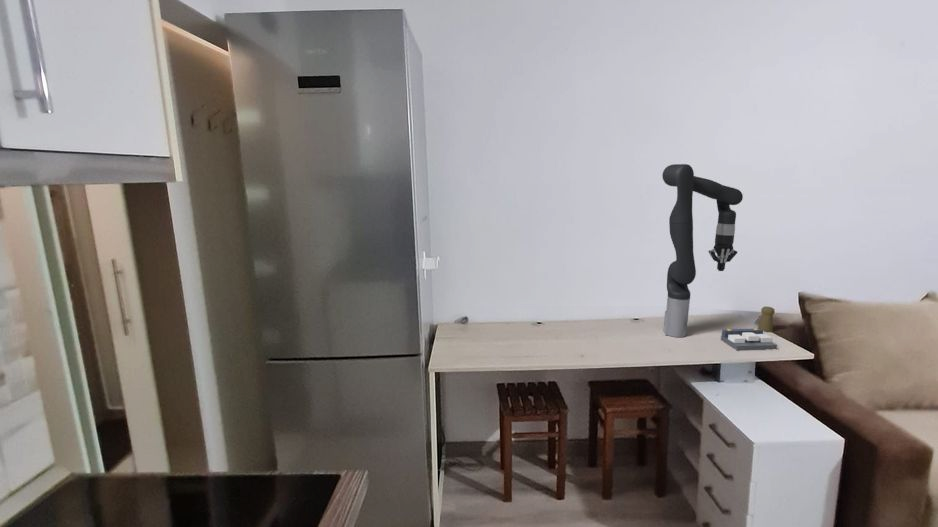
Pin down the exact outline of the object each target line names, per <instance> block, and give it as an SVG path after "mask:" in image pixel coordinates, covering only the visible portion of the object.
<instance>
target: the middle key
mask: <svg viewBox="0 0 938 527" xmlns="http://www.w3.org/2000/svg"><path fill="white" fill-rule="evenodd" d="M742 337H744V338H745V339H746V340H748V341H759V336H758V335H756V334H755V333H753V332H746V333H742Z"/></svg>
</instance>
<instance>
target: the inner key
mask: <svg viewBox="0 0 938 527" xmlns="http://www.w3.org/2000/svg"><path fill="white" fill-rule="evenodd" d="M728 340H730V341H732V342H733V343H745V338H744V337H742V336H740V335H728Z"/></svg>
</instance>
